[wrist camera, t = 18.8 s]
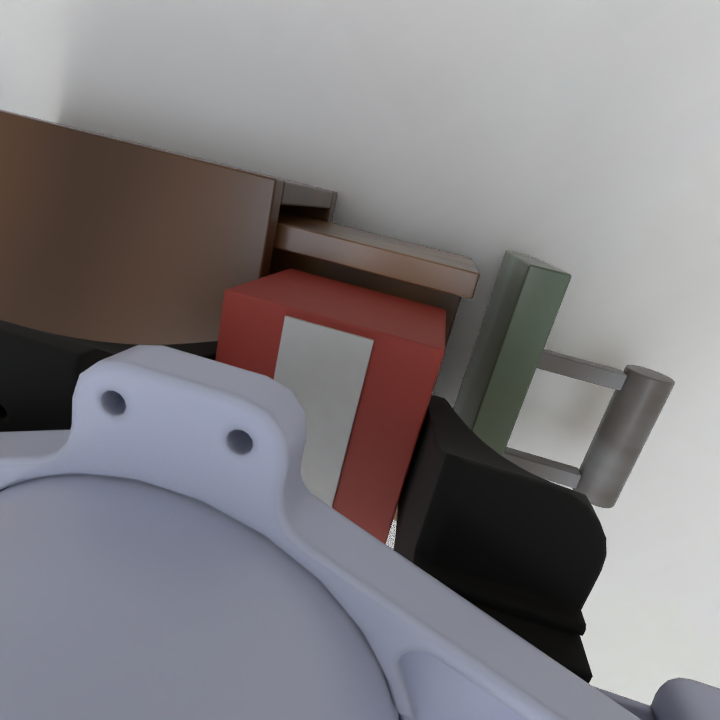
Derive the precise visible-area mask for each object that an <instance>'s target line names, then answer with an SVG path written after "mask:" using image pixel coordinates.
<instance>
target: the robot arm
mask: <svg viewBox="0 0 720 720" xmlns="http://www.w3.org/2000/svg"><path fill="white" fill-rule="evenodd" d="M217 344H218V341H210V342H199V343H185V344H168V345H140V344H122V343H112V342H102V341H93V340H86V339H80V338H74V337H69V336H63V335H58V334H53V333H48V332H44V331H40V330H36V329H32V328H28V327H24V326H20V325H17V324H13V323H10V322H7V321H3V320H0V720H720V689H719V688H716V687H713V686H710V685H707V684H704V683H701V682H698V681H695V680H691V679H685V678H675V679H671V680H668V681H667V682H665V683H664V684H663V685H662V686H661V687H660V688H659V690H658V691H657V693H656V694H655V697H654V699H653V702H652V704H651V706H649V705H646V704H643V703H640V702H637V701H634V700H631V699H628V698H626V697H623V696H620V695H617V694H614V693H611V692H608V691H605V690H602V689H599V688H596V687H593V686H591V685H590V684H589V682H590V680H591V678H592V677H593V676H592V673H591V670H590V667H589V663H588V660H587V657H586V654H585V651H584V647H583V644H582V641H581V638H580V635H582V636H583V634H584V632H585V630H586V624H585V621H584V618H583V615H582V612H581V609H582V607H583V605H584V603H585V601H586V600H587V598H588V596H589V594H590V592H591V590H592V588H593V586H594V584H595V582H596V580H597V578H598V576H599V574H600V572H601V570H602V567H603V564H604V561H605V558H606V537H605V534H604V532H603V529H602V526H601V523H600V521H599V519H598V517H597V515H596V513H595V511H594V509H593V507H592V505H591V503H590V501H589V499H588V498H587V496H586V495H585V494H582V493H579V492H576V491H574V490H571V489H568V488H565V487H562V486H560V485H557V484H554V483H552V482H549V481H547V480H545V479H543V478H541V477H539V476H536V475H534V474H532V473H530V472H528V471H526V470H524V469H523V468H521V467H519V466H517V465H516V464H514V463H512V462H511V461H509V460H507V459H506V458H504V457H503V456H501V455H500V454H498V453H497V452H496V451H495V450H493V449H492V448H491V447H489V446H488V445H487V444H486V443H484V442H483V441H482V440H481V439H480V438H479V437H478V436H477V435H476V434H475V433H474V432H473V431H472V430H471V429H470V428H469V427H468V426H467V425H466V424H465V423H464V422H463V420H462V419H461V418H460V417H459V416H458V414H457V413H456V412H455V411H454V409H453V408H452V407H451V406H450V404H449V403H448V402H447V401H446V400H445V399H444V398H441V397H438V396H434V395H431V398H430V402H429V405H428V408H427V411H426V415H425V418H424V421H423V424H422V428H421V431H420V434H419V437H418V440H417V444H416V447H415V450H414V453H413V457H412V460H411V463H410V466H409V470H408V473H407V476H406V479H405V483H404V486H403V489H402V492H401V495H400V499H399V502H398V512H397V525H396V537H395V544H394V550H393V549H391V548H390V547H388V546H387V545H386V544H384V543H383V542H381V541H380V540H378V539H377V538H375V537H374V536H372V535H371V534H369V533H368V532H367V531H365V530H364V529H362V528H361V527H359V526H358V525H356V524H355V523H353V522H352V521H351V520H349V519H348V518H346V517H345V516H343V515H342V514H340V513H339V512H337V511H336V510H334V509H333V508H332V507H330V506H329V505H327V504H326V503H324V502H323V501H321V500H320V499H318V498H317V497H315V496H314V495H313V494H311V493H310V492H309V490H308V489H307V487H306V486H305V484H304V482H303V481H302V477H301V460H302V455H303V451H304V446H305V441H306V437H307V435H306V420H305V411H304V410H303V408H302V407H301V405H300V404H299V402H298V400H297V399H296V397H295V396H294V394H293V393H292V391H291V390H290V389H289V388H287V387H285V386H283V385H282V384H280V383H278V382H276V381H275V380H273V379H271V378H270V377H268V376H265V375H262V374H259V373H255V372H252V371H248V370H245V369H241V368H238V367H235V366H231V365H228V364H224V363H221V362H218V361H215V359H216V351H217Z"/></svg>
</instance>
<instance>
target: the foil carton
mask: <svg viewBox="0 0 720 720" xmlns="http://www.w3.org/2000/svg"><path fill="white" fill-rule="evenodd" d="M445 330H446V310H445V309H441V308H438V307H434V306H430V305H426V304H423V303H419V302H415V301H411V300H408V299H404V298H400V297H396V296H392V295H389V294H385V293H381V292H377V291H374V290H370V289H366V288H362V287H359V286H355V285H351V284H347V283H344V282H340V281H336V280H332V279H329V278H325V277H321V276H317V275H314V274H310V273H306V272H302V271H299V270H295V269H287V270H284V271H281V272H278V273H275V274H272V275H269V276H266V277H263V278H260V279H256V280H253V281H250V282H247V283H244V284H241V285H238V286H235V287H232V288H229V289H226V290H225V292H224V299H223V306H222V314H221V321H220V329H219V336H218V344H217V351H216V359H215V361H218V362H221V363H224V364H228V365H231V366H235V367H238V368H241V369H245V370H248V371H252V372H255V373H259V374H262V375H265V376H268V377H270V378H271V379H273V380H275V381H276V382H278V383H280V384H282V385H283V386H285V387H287V388H289V389H290V390H291V391H292V393H293V394H294V396H295V397H296V399H297V400H298V402H299V404H300V405H301V407H302V408H303V410H304V411H305V420H306V435H307V437H306V441H305V446H304V451H303V455H302V460H301V477H302V481H303V482H304V484H305V486H306V487H307V489H308V490H309V492H310V493H311V494H313V495H314V496H315V497H317V498H318V499H320V500H321V501H323V502H324V503H326V504H327V505H329V506H330V507H332V508H333V509H334V510H336V511H337V512H339V513H340V514H342V515H343V516H345V517H346V518H348V519H349V520H351V521H352V522H353V523H355V524H356V525H358V526H359V527H361V528H362V529H364V530H365V531H367V532H368V533H369V534H371V535H372V536H374V537H375V538H377V539H378V540H380V541H381V542H383V543H384V544H386V541H387V538H388V534H389V531H390V528H391V525H392V521H393V518H394V515H395V512H396V508H397V505H398V502H399V499H400V495H401V492H402V489H403V486H404V483H405V479H406V476H407V473H408V470H409V466H410V463H411V460H412V457H413V453H414V450H415V447H416V444H417V440H418V437H419V434H420V431H421V428H422V424H423V421H424V418H425V415H426V411H427V408H428V405H429V402H430V398H431V395H432V392H433V389H434V385H435V382H436V379H437V376H438V373H439V369H440V366H441V363H442V360H443V356H444V353H445Z"/></svg>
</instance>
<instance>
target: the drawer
mask: <svg viewBox="0 0 720 720" xmlns="http://www.w3.org/2000/svg"><path fill="white" fill-rule="evenodd" d="M287 269H295V270H299V271H302V272H306V273H310V274H314V275H317V276H321V277H325V278H329V279H332V280H336V281H340V282H344V283H347V284H351V285H355V286H359V287H362V288H366V289H370V290H374V291H377V292H381V293H385V294H389V295H392V296H396V297H400V298H404V299H408V300H411V301H415V302H419V303H423V304H426V305H430V306H434V307H438V308H441V309H445V310H446V330H445V348H446V345H447V342H448V338H449V335H450V332H451V329H452V325H453V322H454V319H455V316H456V312H457V309H458V306H459V303H460V299H461V297H463V298H467V299H472V298H473V295H474V291H475V288H476V285H477V282H478V279H479V276H480V275H479V272H478V270H477V269H476V267H475V265H474V263H473V261H472V259H471V258H468V257H464V256H460V255H456V254H452V253H448V252H444V251H440V250H436V249H432V248H428V247H424V246H421V245H417V244H413V243H409V242H405V241H401V240H397V239H393V238H389V237H385V236H381V235H377V234H373V233H369V232H365V231H361V230H357V229H353V228H349V227H346V226H342V225H338V224H334V223H330V222H326V221H322V220H318V219H314V218H310V217H306V216H302V215H298V214H294V213H290V212H286V211H282V210H279V215H278V221H277V227H276V233H275V239H274V245H273V251H272V257H271V264H270V270H269V275H272V274H275V273H278V272H281V271H284V270H287ZM570 279H571V275H570V274H569V273H567V272H564V271H562V270H560V269H558V268H556V267H554V266H552V265H549V264H547V263H545V262H543V261H541V260H539V259H537V258H534V257H530V256H526V255H522V254H518V253H514V252H510V251H506V252H505V255H504V258H503V261H502V264H501V267H500V270H499V273H498V277H497V280H496V283H495V286H494V289H493V292H492V295H491V298H490V301H489V304H488V307H487V310H486V313H485V316H484V319H483V322H482V325H481V328H480V331H479V334H478V337H477V340H476V343H475V346H474V349H473V352H472V355H471V358H470V361H469V364H468V367H467V370H466V373H465V376H464V379H463V382H462V385H461V388H460V392H459V395H458V398H457V401H456V404H455V407H454V411H455V412H456V413H457V414H458V416H459V417H460V418H461V419H462V420H463V422H464V423H465V424H466V425H467V426H468V427H469V428H470V429H471V430H472V431H473V432H474V433H475V434H476V435H477V436H478V437H479V438H480V439H481V440H482V441H483V442H484V443H486V444H487V445H488V446H489V447H491V448H492V449H493V450H495V451H496V452H497V453H498V454H500V455H501V456H503V457H504V458H506V459H507V460H509V461H511V462H512V463H514V464H516V465H517V466H519V467H521V468H523V469H524V470H526V471H528V472H530V473H532V474H534V475H536V476H539V477H541V478H543V479H545V480H549V481H552V482H556V483H559V484H562V485H566V486H569V487H572V488H573V490H574V491H576V492H579V493H582V494H585V495H586V496H587V498H588V499H589V501H590V503H591V504H593V505H595V506H598V507H602V508H611V507H613V506H614V505H615V503H616V501H617V499H618V497H619V495H620V493H621V491H622V489H623V487H624V485H625V483H626V481H627V479H628V477H629V474H630V472H631V470H632V468H633V466H634V464H635V462H636V460H637V458H638V456H639V454H640V452H641V450H642V448H643V446H644V444H645V442H646V440H647V438H648V436H649V434H650V432H651V430H652V428H653V426H654V424H655V422H656V420H657V418H658V416H659V414H660V412H661V410H662V408H663V406H664V404H665V402H666V400H667V398H668V396H669V394H670V392H671V390H672V388H673V386H674V384H675V382H674V381H673V380H672V379H671V378H669V377H667V376H665V375H663V374H661V373H658V372H656V371H653V370H650V369H647V368H644V367H640V366H635V365H627V366H626V367H625V369H624V372H623V371H622V370H619V369H616V368H612V367H608V366H604V365H601V364H597V363H593V362H590V361H586V360H582V359H578V358H575V357H571V356H567V355H564V354H560V353H556V352H552V351H549V350H545V349H544V347H545V344H546V341H547V339H548V336H549V334H550V331H551V328H552V326H553V323H554V321H555V318H556V315H557V313H558V310H559V308H560V305H561V302H562V300H563V297H564V295H565V292H566V289H567V287H568V284H569V282H570ZM536 368H539V369H542V370H546V371H550V372H553V373H557V374H561V375H564V376H568V377H572V378H575V379H579V380H583V381H586V382H590V383H594V384H597V385H601V386H604V387H608V388H612V389H615V391H614V394H613V396H612V398H611V400H610V402H609V405H608V407H607V409H606V411H605V413H604V416H603V418H602V420H601V422H600V424H599V427H598V429H597V431H596V433H595V436H594V438H593V440H592V442H591V444H590V447H589V449H588V451H587V453H586V455H585V458H584V460H583V462H582V464H581V466H580V469H579V470H578V468H576V467H573V466H570V465H566V464H563V463H559V462H556V461H553V460H549V459H546V458H542V457H539V456H536V455H532V454H529V453H525V452H522V451H518V450H515V449H512V448H508V447H506V446H507V443H508V440H509V438H510V435H511V433H512V430H513V427H514V425H515V422H516V419H517V417H518V414H519V412H520V409H521V406H522V404H523V401H524V399H525V396H526V393H527V391H528V388H529V386H530V383H531V380H532V378H533V375H534V373H535V370H536ZM397 512H398V505H397V508H396V512H395V515H394V518H393V520H396V521H397Z"/></svg>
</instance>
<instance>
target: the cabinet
mask: <svg viewBox="0 0 720 720" xmlns="http://www.w3.org/2000/svg"><path fill="white" fill-rule="evenodd" d="M336 197H337V192H334V191H330V190H326V189H322V188H318V187H314V186H310V185H306V184H302V183H297V182H293V181H289V180H285V179H281V178H277V177H273V176H269V175H265V174H261V173H257V172H253V171H249V170H245V169H241V168H236V167H232V166H228V165H224V164H220V163H216V162H212V161H208V160H204V159H200V158H196V157H192V156H188V155H184V154H180V153H175V152H171V151H167V150H163V149H159V148H155V147H151V146H147V145H143V144H139V143H135V142H131V141H127V140H123V139H119V138H114V137H110V136H106V135H102V134H98V133H94V132H90V131H86V130H82V129H78V128H74V127H70V126H66V125H62V124H58V123H53V122H49V121H45V120H41V119H37V118H33V117H28V116H24V115H20V114H16V113H12V112H8V111H3V110H0V320H3V321H7V322H10V323H13V324H17V325H20V326H24V327H28V328H32V329H36V330H40V331H44V332H48V333H53V334H58V335H63V336H69V337H74V338H80V339H86V340H93V341H102V342H112V343H122V344H140V345H168V344H185V343H199V342H210V341H218V336H219V329H220V321H221V314H222V306H223V299H224V292H225V290H226V289H229V288H232V287H235V286H238V285H241V284H244V283H247V282H250V281H253V280H256V279H260V278H263V277H266V276H269V270H270V264H271V257H272V251H273V245H274V239H275V233H276V227H277V221H278V215H279V210H282V211H286V212H290V213H294V214H298V215H302V216H306V217H310V218H314V219H318V220H322V221H326V222H330V223H331V222H332V217H333V212H334V207H335V202H336Z"/></svg>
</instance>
